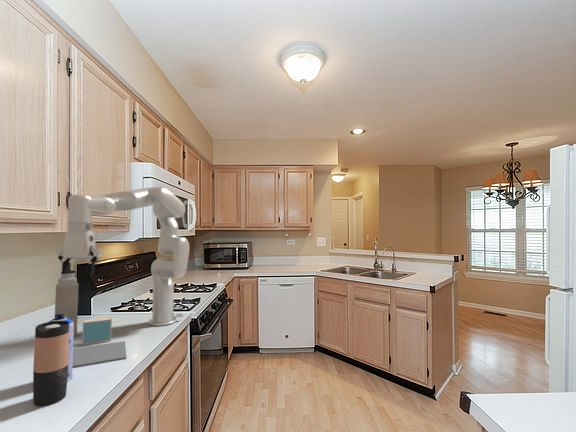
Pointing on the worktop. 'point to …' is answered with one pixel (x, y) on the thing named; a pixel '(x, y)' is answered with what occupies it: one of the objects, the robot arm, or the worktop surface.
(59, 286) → the thermos bottle
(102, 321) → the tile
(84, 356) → the mat
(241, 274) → the worktop surface
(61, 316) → the aerosol can
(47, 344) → the travel mug
